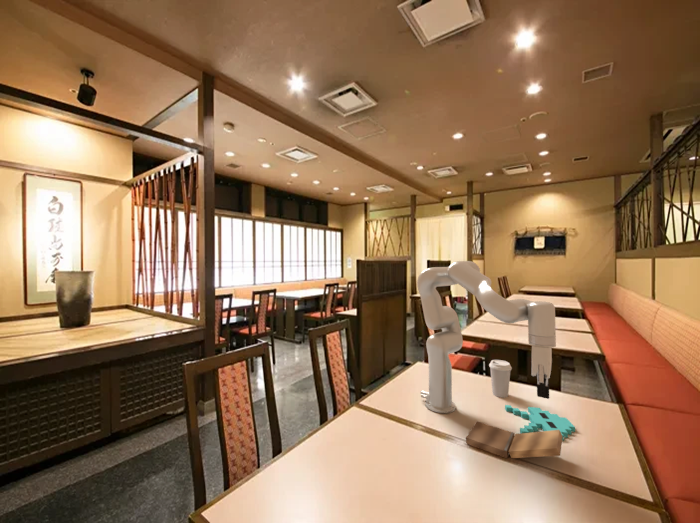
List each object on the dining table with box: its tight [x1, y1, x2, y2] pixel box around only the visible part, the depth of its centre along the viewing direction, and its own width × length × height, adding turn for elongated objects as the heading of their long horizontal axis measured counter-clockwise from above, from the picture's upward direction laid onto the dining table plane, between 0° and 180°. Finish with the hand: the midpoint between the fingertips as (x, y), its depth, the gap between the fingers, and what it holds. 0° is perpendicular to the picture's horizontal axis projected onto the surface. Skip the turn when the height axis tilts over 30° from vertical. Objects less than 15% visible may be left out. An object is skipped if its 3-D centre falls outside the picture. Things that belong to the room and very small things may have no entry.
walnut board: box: [465, 420, 516, 459], centre depth 105 cm, size 13×13×2 cm
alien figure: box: [504, 404, 576, 442], centre depth 115 cm, size 20×2×20 cm
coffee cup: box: [488, 359, 513, 399], centre depth 141 cm, size 10×10×15 cm
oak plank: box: [508, 430, 563, 459], centre depth 96 cm, size 14×12×2 cm
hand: (543, 396), depth 97 cm, fingers closed
